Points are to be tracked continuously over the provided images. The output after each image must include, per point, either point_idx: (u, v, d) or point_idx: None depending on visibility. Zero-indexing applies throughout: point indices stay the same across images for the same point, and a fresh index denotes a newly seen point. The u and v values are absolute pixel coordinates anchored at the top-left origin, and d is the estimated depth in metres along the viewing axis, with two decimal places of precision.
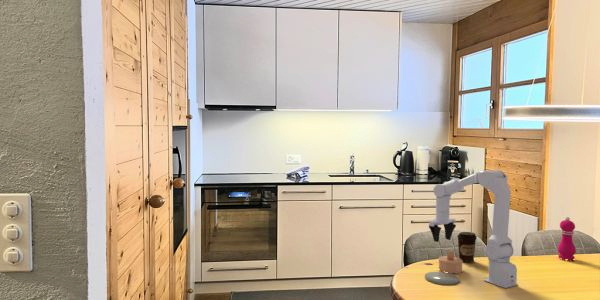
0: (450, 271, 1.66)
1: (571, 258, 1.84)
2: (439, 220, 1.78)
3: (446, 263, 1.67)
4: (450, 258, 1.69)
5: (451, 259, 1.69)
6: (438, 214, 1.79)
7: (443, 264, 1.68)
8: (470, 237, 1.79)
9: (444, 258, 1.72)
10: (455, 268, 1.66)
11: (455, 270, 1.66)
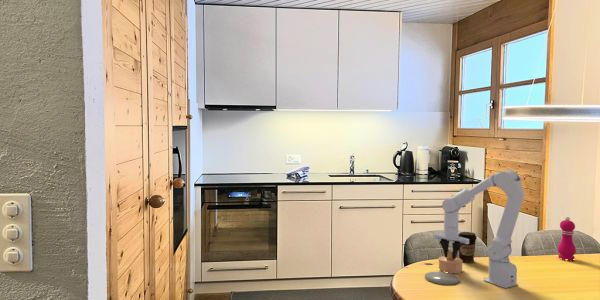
0: (450, 271, 1.66)
1: (571, 258, 1.84)
2: (443, 234, 1.71)
3: (446, 263, 1.67)
4: (450, 258, 1.69)
5: (451, 259, 1.69)
6: None
7: (443, 264, 1.68)
8: (470, 237, 1.79)
9: (444, 258, 1.72)
10: (455, 268, 1.66)
11: (455, 270, 1.66)
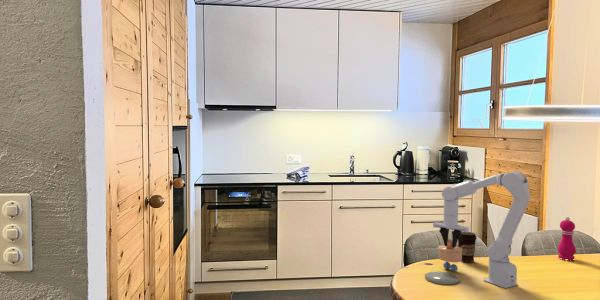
0: (449, 260, 1.65)
1: (571, 258, 1.84)
2: (443, 223, 1.70)
3: (446, 252, 1.66)
4: (450, 247, 1.68)
5: (451, 248, 1.68)
6: None
7: (443, 253, 1.67)
8: (470, 237, 1.79)
9: (444, 247, 1.71)
10: (455, 257, 1.65)
11: (455, 259, 1.65)
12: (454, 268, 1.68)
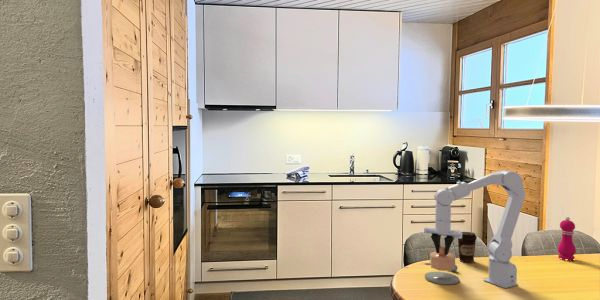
0: (442, 269, 1.55)
1: (571, 258, 1.84)
2: (435, 229, 1.60)
3: (438, 260, 1.56)
4: (442, 254, 1.58)
5: (443, 255, 1.58)
6: None
7: (435, 261, 1.57)
8: (470, 237, 1.79)
9: (436, 254, 1.61)
10: (448, 265, 1.55)
11: (448, 267, 1.55)
12: None
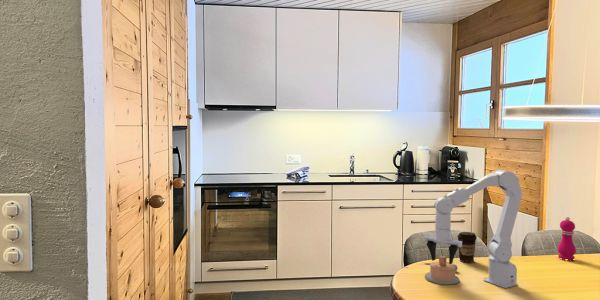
0: (442, 279, 1.56)
1: (571, 258, 1.84)
2: (435, 237, 1.60)
3: (438, 270, 1.56)
4: (442, 264, 1.58)
5: (443, 265, 1.58)
6: None
7: (435, 271, 1.57)
8: (470, 237, 1.79)
9: (436, 264, 1.61)
10: (448, 275, 1.55)
11: (448, 277, 1.55)
12: None
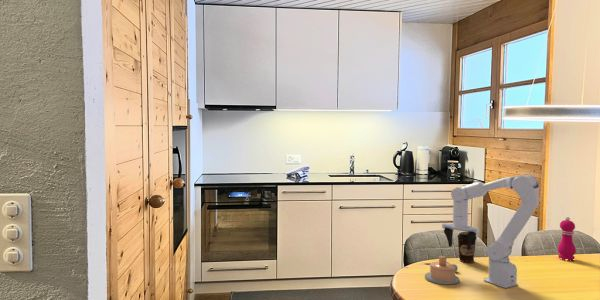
0: (442, 279, 1.56)
1: (571, 258, 1.84)
2: (452, 224, 1.68)
3: (438, 270, 1.56)
4: (442, 264, 1.58)
5: (443, 265, 1.58)
6: None
7: (435, 271, 1.57)
8: None
9: (436, 264, 1.61)
10: (448, 275, 1.55)
11: (448, 277, 1.55)
12: None
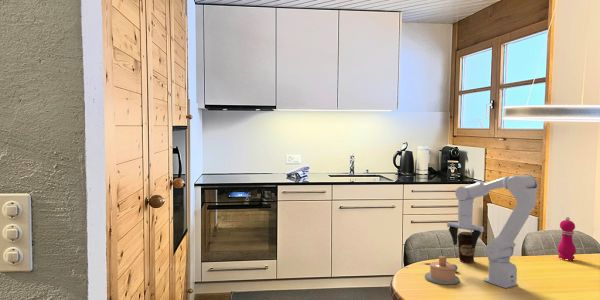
0: (442, 279, 1.56)
1: (571, 258, 1.84)
2: (457, 223, 1.71)
3: (438, 270, 1.56)
4: (442, 264, 1.58)
5: (443, 265, 1.58)
6: None
7: (435, 271, 1.57)
8: (470, 237, 1.79)
9: (436, 264, 1.61)
10: (448, 275, 1.55)
11: (448, 277, 1.55)
12: None
